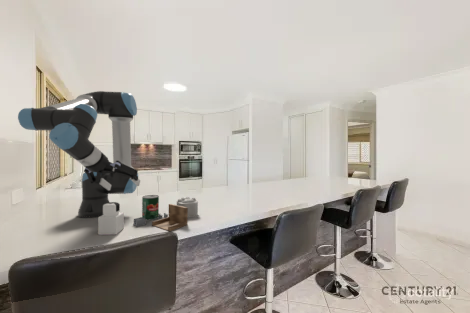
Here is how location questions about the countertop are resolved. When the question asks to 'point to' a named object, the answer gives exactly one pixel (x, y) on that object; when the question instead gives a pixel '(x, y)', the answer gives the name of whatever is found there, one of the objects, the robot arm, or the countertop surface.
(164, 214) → the clip
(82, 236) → the countertop surface
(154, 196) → the canned tomato
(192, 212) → the lumpy-topped squat cylinder
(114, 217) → the medicine bottle
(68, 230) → the countertop surface
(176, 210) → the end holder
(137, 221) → the clip
